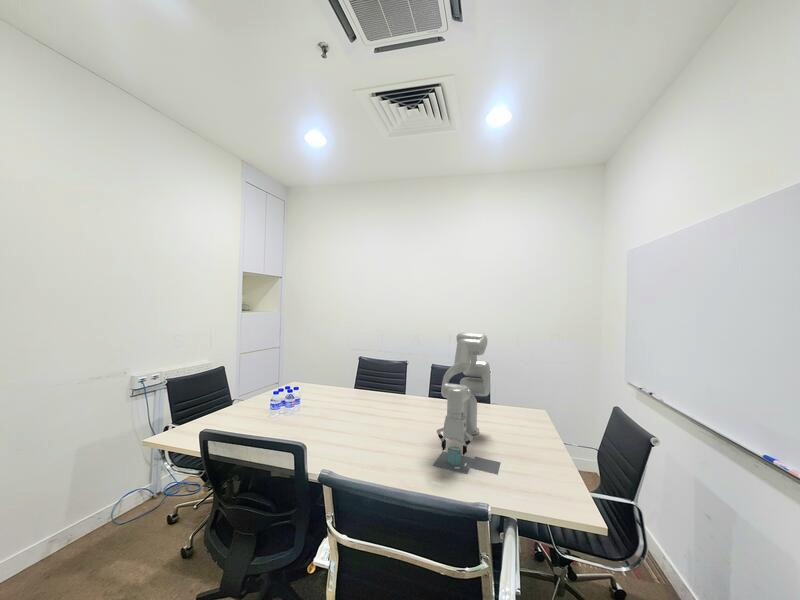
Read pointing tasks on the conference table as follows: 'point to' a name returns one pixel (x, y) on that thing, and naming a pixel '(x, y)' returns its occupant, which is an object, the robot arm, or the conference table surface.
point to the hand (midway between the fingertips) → (453, 451)
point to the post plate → (460, 468)
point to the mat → (486, 465)
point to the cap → (454, 455)
